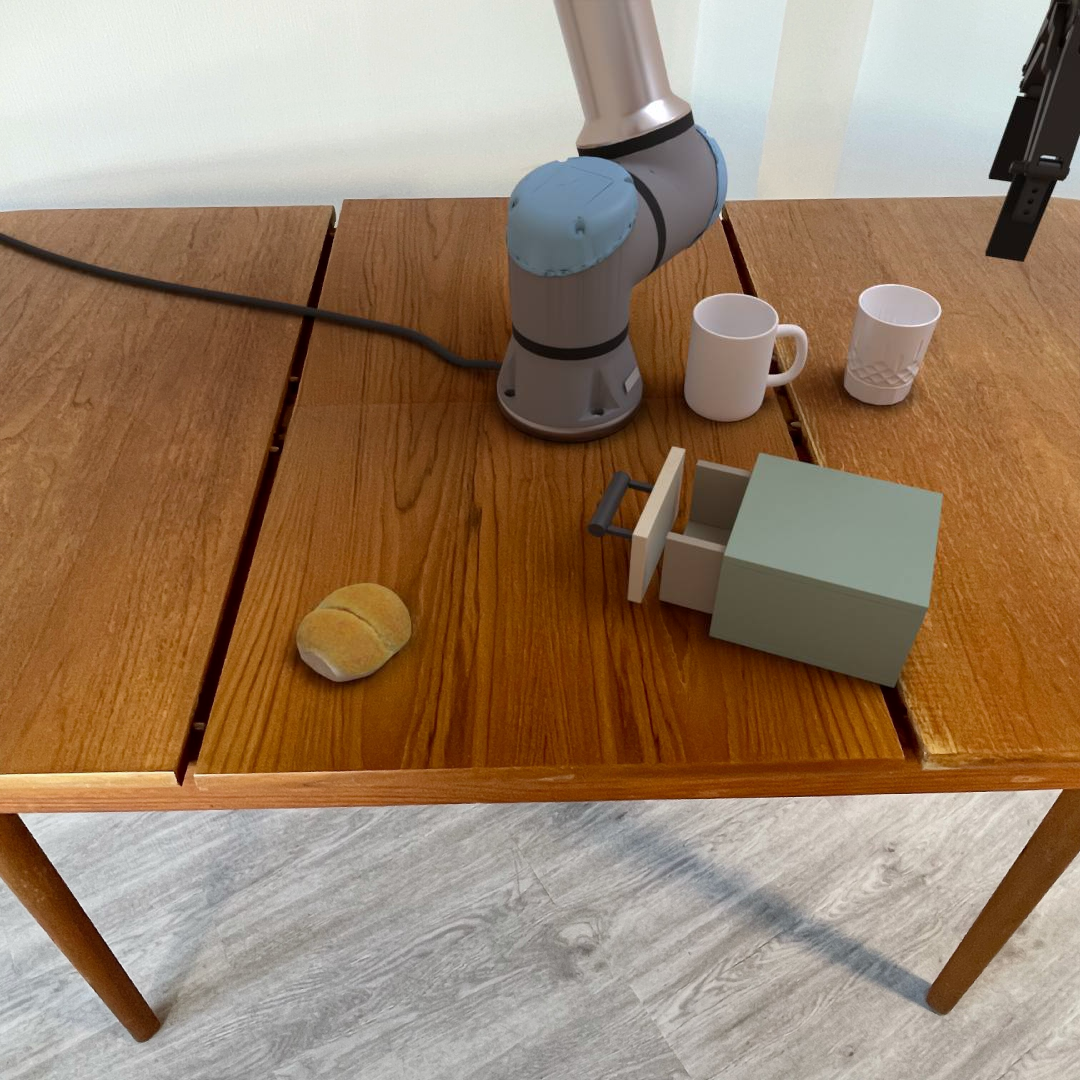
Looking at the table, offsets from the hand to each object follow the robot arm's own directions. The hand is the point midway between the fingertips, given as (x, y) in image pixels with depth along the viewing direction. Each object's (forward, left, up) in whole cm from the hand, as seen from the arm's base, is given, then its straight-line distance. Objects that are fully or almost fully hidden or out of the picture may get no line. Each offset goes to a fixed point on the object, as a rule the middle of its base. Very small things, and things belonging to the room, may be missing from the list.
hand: (1004, 216), depth 73 cm
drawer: (-16, -23, -24) cm, 37 cm away
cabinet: (-6, -23, -25) cm, 35 cm away
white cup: (-5, +10, -25) cm, 27 cm away
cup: (-18, +3, -25) cm, 31 cm away
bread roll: (-40, -40, -25) cm, 62 cm away
